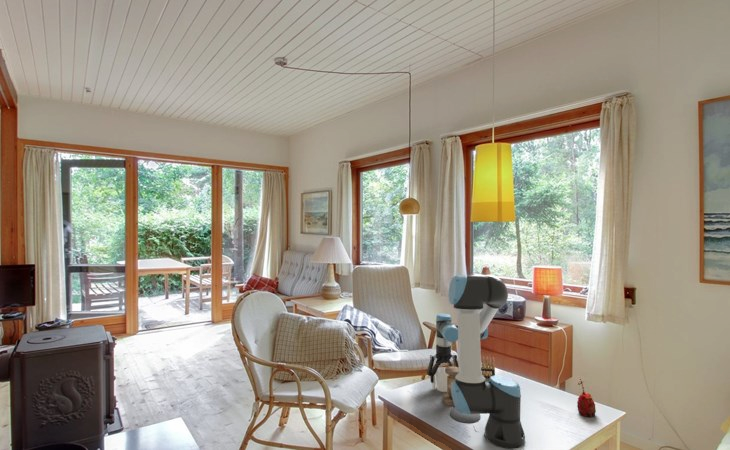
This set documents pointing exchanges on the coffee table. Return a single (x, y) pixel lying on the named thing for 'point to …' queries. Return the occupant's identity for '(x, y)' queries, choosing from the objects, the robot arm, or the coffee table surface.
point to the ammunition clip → (487, 367)
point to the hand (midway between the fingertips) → (443, 387)
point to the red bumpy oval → (586, 404)
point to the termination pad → (464, 416)
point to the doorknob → (450, 378)
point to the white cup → (441, 379)
